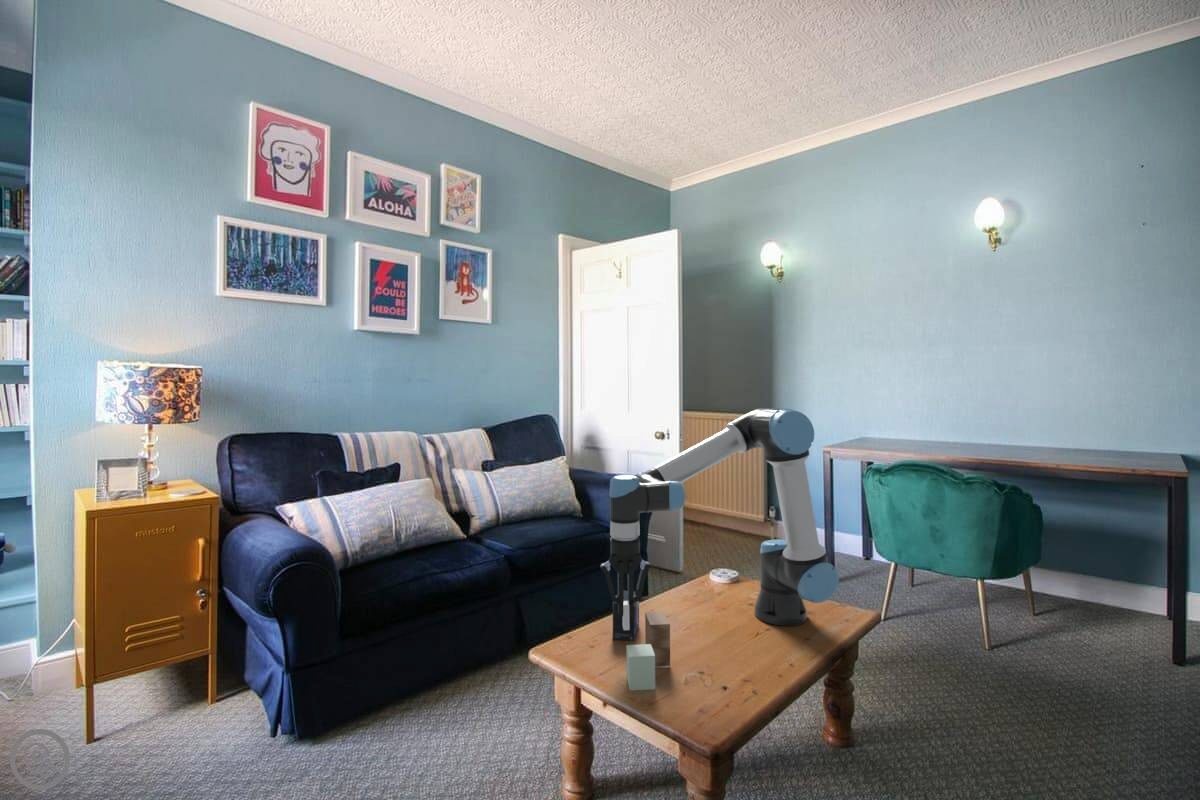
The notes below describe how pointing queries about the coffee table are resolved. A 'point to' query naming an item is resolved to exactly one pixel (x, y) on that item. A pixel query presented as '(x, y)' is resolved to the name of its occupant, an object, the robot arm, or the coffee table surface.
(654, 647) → the walnut block
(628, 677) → the sage block
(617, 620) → the small box
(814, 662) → the coffee table surface
